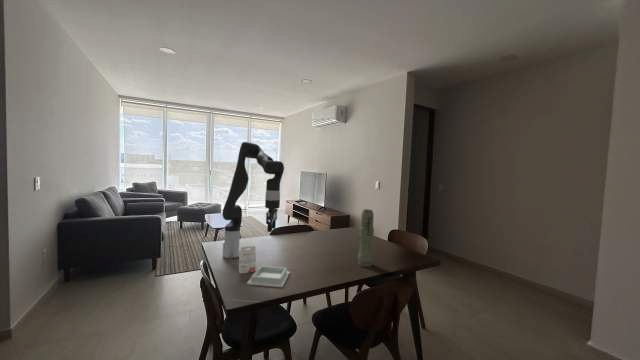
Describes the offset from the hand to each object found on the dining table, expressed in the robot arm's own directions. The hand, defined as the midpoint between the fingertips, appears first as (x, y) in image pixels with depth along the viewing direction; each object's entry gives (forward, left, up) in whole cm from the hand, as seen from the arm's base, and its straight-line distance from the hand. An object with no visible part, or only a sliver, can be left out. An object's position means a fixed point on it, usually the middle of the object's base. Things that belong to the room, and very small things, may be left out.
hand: (271, 230), depth 139 cm
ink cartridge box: (-15, +7, -26) cm, 31 cm away
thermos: (+53, +32, -26) cm, 67 cm away
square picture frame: (0, 0, -26) cm, 26 cm away
